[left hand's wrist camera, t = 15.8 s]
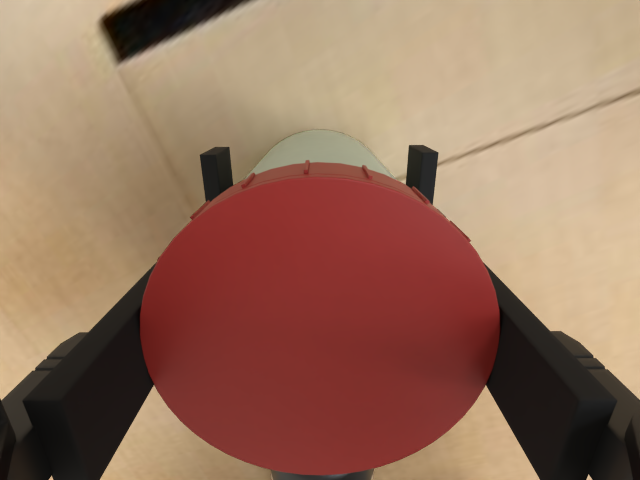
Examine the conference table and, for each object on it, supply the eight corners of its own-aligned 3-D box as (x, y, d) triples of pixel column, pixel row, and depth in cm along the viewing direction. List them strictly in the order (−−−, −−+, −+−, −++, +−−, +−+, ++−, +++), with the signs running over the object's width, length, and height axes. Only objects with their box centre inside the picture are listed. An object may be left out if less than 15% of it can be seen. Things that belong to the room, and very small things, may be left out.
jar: (413, 218, 26) (530, 372, 12) (303, 285, 28) (285, 487, 14) (340, 98, 23) (374, 105, 9) (222, 183, 25) (90, 302, 11)
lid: (386, 89, 10) (401, 87, 8) (516, 355, 13) (550, 400, 11) (101, 266, 12) (58, 299, 10) (277, 459, 15) (270, 512, 13)
